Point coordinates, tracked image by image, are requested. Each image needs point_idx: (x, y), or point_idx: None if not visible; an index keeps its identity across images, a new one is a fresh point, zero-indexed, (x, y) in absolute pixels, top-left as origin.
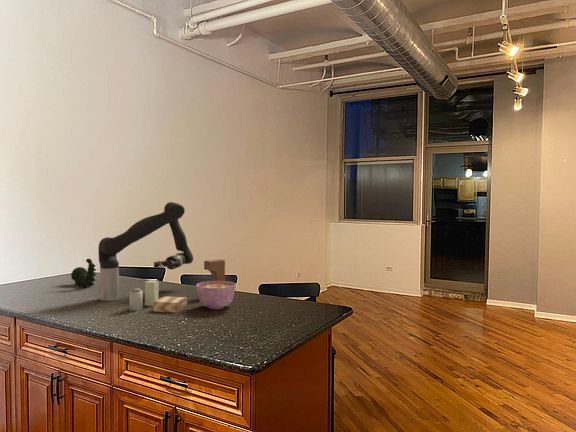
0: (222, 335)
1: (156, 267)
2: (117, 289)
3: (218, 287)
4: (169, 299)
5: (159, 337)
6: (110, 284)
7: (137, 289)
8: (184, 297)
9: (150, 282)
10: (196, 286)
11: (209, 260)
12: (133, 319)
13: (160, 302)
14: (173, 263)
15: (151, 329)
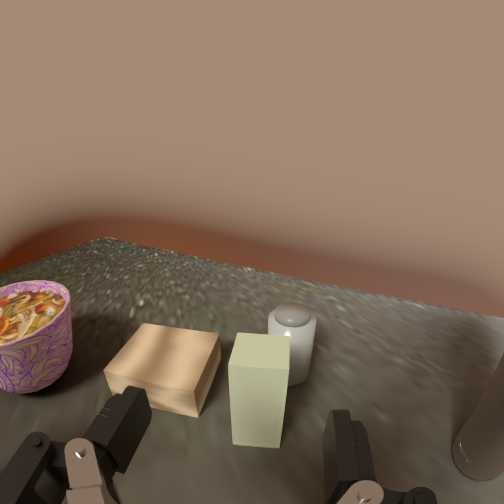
0: (99, 266)
1: (324, 455)
2: (475, 430)
3: (9, 314)
4: (168, 352)
5: (180, 264)
6: (489, 382)
7: (284, 307)
8: (112, 371)
9: (259, 335)
10: (67, 310)
11: None
12: (250, 310)
13: (196, 332)
14: (89, 444)
15: (197, 279)
